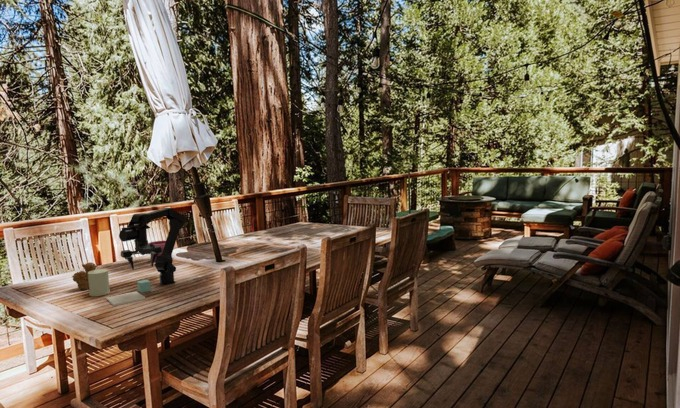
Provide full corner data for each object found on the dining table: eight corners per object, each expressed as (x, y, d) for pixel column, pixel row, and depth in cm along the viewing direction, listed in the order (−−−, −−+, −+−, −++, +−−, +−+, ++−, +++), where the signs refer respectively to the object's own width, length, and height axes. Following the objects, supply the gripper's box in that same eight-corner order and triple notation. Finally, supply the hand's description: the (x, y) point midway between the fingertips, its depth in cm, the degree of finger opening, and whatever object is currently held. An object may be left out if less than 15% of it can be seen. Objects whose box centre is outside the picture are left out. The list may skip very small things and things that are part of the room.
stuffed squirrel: (106, 284, 231) (105, 261, 230) (85, 292, 218) (83, 267, 216) (92, 283, 234) (90, 260, 233) (69, 291, 221) (67, 266, 219)
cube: (147, 288, 222) (147, 279, 221) (150, 290, 218) (150, 281, 218) (137, 290, 218) (137, 281, 218) (140, 293, 215) (140, 283, 214)
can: (91, 291, 218) (89, 269, 217) (111, 289, 221) (109, 267, 220) (87, 297, 209) (85, 273, 208) (108, 294, 213) (106, 271, 211)
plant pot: (150, 259, 290) (149, 241, 289) (172, 257, 295) (171, 239, 293) (147, 264, 277) (146, 244, 275) (170, 262, 281) (169, 243, 280)
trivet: (136, 292, 215) (136, 291, 215) (145, 299, 204) (145, 297, 204) (106, 299, 206) (106, 297, 206) (113, 306, 195) (113, 304, 195)
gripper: (125, 242, 203) (127, 274, 205) (165, 237, 216) (166, 267, 217) (119, 239, 212) (121, 270, 213) (157, 235, 224) (159, 264, 226)
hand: (142, 268), depth 217 cm, fingers open, 9 cm apart
